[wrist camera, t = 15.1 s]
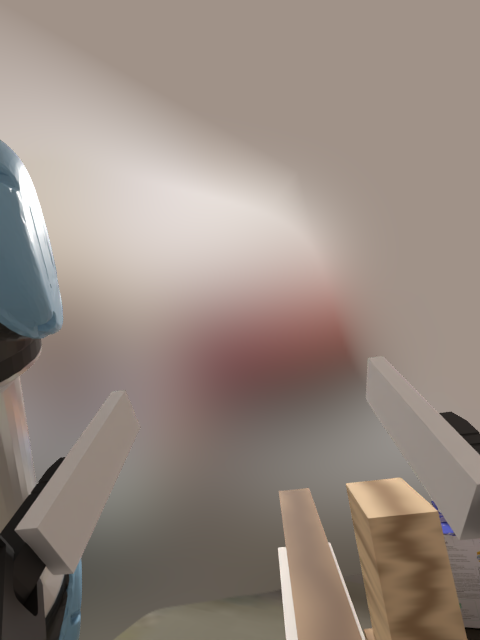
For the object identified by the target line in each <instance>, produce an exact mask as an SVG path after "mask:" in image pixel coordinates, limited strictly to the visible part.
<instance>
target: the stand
mask: <svg viewBox="0 0 480 640" xmlns="http://www.w3.org/2000/svg"><path fill="white" fill-rule="evenodd" d="M346 487H347V493H348V499H349V504H350V509H351V515H352V520H353V525H354V531H355V536H356V542H357V547H358V553H359V558H360V564H361V569H362V574H363V580H364V585H365V591H366V596H367V601H368V607H369V612H370V618H371V623H372V628H371V629H364V633H365V639H366V640H467V636H466V632H465V627H464V623H463V619H462V614H461V610H460V605H459V601H458V597H457V592H456V588H455V583H454V579H453V574H452V570H451V566H450V561H449V557H448V552H447V548H446V544H445V539H444V535H443V530H442V526H441V522H440V517H439V513H438V511H437V510H436V509H435V508H434V507H433V506H432V505H431V504H430V503H428V502H427V501H426V500H425V499H424V498H423V497H422V496H421V495H420V494H418V493H417V492H416V491H415V490H414V489H413V488H412V487H411V486H410V485H408V484H407V483H406V482H405V481H404V480H403V479H402V478H392V479H383V480H374V481H365V482H356V483H347V484H346Z"/></svg>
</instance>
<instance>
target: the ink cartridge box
mask: <svg viewBox="0 0 480 640" xmlns="http://www.w3.org/2000/svg"><path fill="white" fill-rule="evenodd" d="M431 502H432V505H433V507H434V508H435V509H436V510H437V511H438V508H437V506H436V505H435V503H434V502H433V501H431ZM438 513H439V517H440V522H441V526H442V530H443V535H444V539H445V544H446V548H447V552H448V557H449V561H450V566H451V570H452V574H453V579H454V583H455V588H456V592H457V597H458V601H459V605H460V610H461V614H462V619H463V623H464V627H468V628H480V539H470V540H459V539H458V538H457V536H456V535H455V533H454V532H453V530H452V529H451V527H450V526H449V524H448V523H447V521H446V520H445V518H444V517H443V515H442V514H441V513H440V512H439V511H438Z"/></svg>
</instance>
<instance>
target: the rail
mask: <svg viewBox="0 0 480 640" xmlns="http://www.w3.org/2000/svg"><path fill="white" fill-rule="evenodd" d="M279 496H280V504H281V512H282V519H283V527H284V535H285V543H286V551H287V559H288V567H289V574H290V582H291V590H292V598H293V606H294V613H295V621H296V629H297V637H298V640H362V638H361V635H360V632H359V629H358V626H357V623H356V621H355V618H354V615H353V612H352V609H351V606H350V603H349V601H348V598H347V595H346V592H345V589H344V586H343V584H342V581H341V578H340V575H339V572H338V569H337V566H336V564H335V561H334V558H333V555H332V552H331V549H330V547H329V544H328V541H327V538H326V535H325V532H324V529H323V527H322V524H321V521H320V518H319V516H318V512H317V510H316V507H315V504H314V501H313V498H312V496H311V492H310V490H309V488H305V489H296V490H286V491H279Z"/></svg>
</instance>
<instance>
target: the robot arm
mask: <svg viewBox="0 0 480 640" xmlns="http://www.w3.org/2000/svg"><path fill="white" fill-rule="evenodd" d="M62 324H63V310H62V302H61V294H60V291H59V285H58V280H57V272H56V267H55V262H54V257H53V253H52V248H51V244H50V241H49V236H48V232H47V229H46V225H45V221H44V218H43V214H42V210H41V207H40V204H39V201H38V198H37V195H36V191H35V189H34V186H33V183H32V181H31V178H30V176H29V174H28V172H27V170H26V168H25V166H24V164H23V163H22V161H21V160H20V158H19V157H18V156H17V155H16V153H15V152H14V151H13V150H12V149H11V148H10V147H9V146H7V145H6V144H5V143H4V142H3V141H1V140H0V640H79V633H80V620H81V613H80V608H81V599H82V568H81V556H82V554H83V552H84V550H85V547H86V545H87V543H88V541H89V539H90V536H91V534H92V532H93V530H94V528H95V526H96V524H97V521H98V519H99V517H100V515H101V513H102V510H103V508H104V506H105V504H106V501H107V499H108V497H109V495H110V493H111V491H112V489H113V486H114V484H115V482H116V480H117V478H118V475H119V473H120V471H121V469H122V467H123V465H124V462H125V460H126V458H127V456H128V454H129V451H130V449H131V447H132V445H133V443H134V441H135V438H136V436H137V434H138V432H139V430H140V424H139V422H138V419H137V417H136V415H135V413H134V410H133V407H132V405H131V403H130V400H129V398H128V395H127V393H126V390H121V391H113V392H111V394H110V395H109V397H108V398H107V399H106V401H105V402H104V404H103V405H102V406H101V408H100V409H99V411H98V412H97V414H96V415H95V416H94V418H93V419H92V421H91V422H90V423H89V425H88V426H87V428H86V429H85V431H84V432H83V433H82V435H81V436H80V438H79V439H78V441H77V442H76V443H75V445H74V446H73V448H72V449H71V450H70V452H69V453H68V455H67V456H66V457H63V458H60V459H58V460H57V461H56V462H55V463H54V464H53V465H52V466H51V467H50V468H49V469H48V470H47V471H46V472H45V474H44V475H43V476H42V478H41V479H40V480H39V483H38V484H36V478H35V472H34V465H33V458H32V452H31V445H30V439H29V433H28V426H27V420H26V414H25V408H24V401H23V394H22V388H21V381H20V375H21V374H23V373H24V372H25V371H26V370H28V369H29V368H30V367H31V366H32V365H33V364H34V363H35V362H36V360H37V359H38V358H39V356H40V353H41V350H42V344H41V338H44V337H46V336H48V335H50V334H54V333H56V332H58V331H59V330H60V329H61V327H62ZM366 401H367V402H368V404H369V405H370V406H371V408H372V410H373V411H374V413H375V414H376V416H377V417H378V419H379V420H380V422H381V423H382V425H383V426H384V428H385V429H386V431H387V432H388V434H389V435H390V437H391V438H392V440H393V441H394V443H395V444H396V446H397V447H398V449H399V450H400V452H401V453H402V455H403V456H404V458H405V459H406V461H407V462H408V464H409V465H410V467H411V468H412V470H413V471H414V473H415V474H416V476H417V477H418V479H419V480H420V482H421V483H422V485H423V487H424V488H425V489H426V491H427V493H428V494H429V496H430V497H431V498H432V500H433V502H434V503H435V505H436V506H437V508H438V509H439V510H440V512H441V514H442V515H443V517H444V518H445V520H446V521H447V523H448V524H449V526H450V527H451V529H452V530H453V532H454V533H455V535H456V536H457V538H458V539H459V540H470V539H480V434H479V432H478V431H477V430H476V429H475V428H474V427H473V426H472V425H471V424H470V423H469V422H468V421H466V420H465V419H463V418H461V417H459V416H458V415H456V414H454V413H452V412H446V413H438V412H437V411H436V410H435V409H434V408H433V407H432V406H431V405H430V404H429V403H428V402H427V401H426V400H425V399H424V398H423V396H422V395H421V394H420V393H419V392H418V391H416V389H415V388H414V387H413V386H412V385H411V384H410V383H409V382H408V381H407V380H406V379H405V378H404V377H403V376H402V375H401V374H400V373H399V372H398V371H397V370H396V369H395V368H394V367H393V366H392V365H391V364H390V363H389V362H388V361H387V360H386V359H385V358H384V357H383V356H380V357H373V358H368V367H367V387H366Z"/></svg>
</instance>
